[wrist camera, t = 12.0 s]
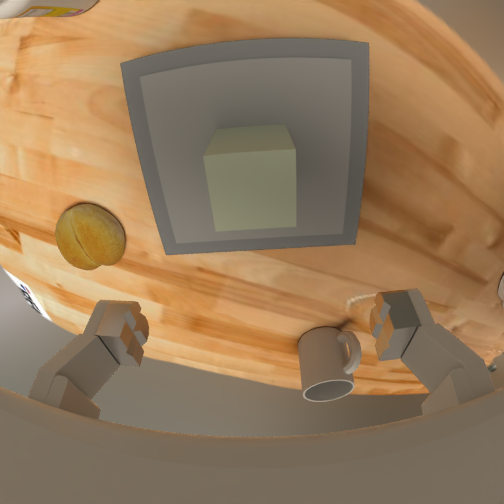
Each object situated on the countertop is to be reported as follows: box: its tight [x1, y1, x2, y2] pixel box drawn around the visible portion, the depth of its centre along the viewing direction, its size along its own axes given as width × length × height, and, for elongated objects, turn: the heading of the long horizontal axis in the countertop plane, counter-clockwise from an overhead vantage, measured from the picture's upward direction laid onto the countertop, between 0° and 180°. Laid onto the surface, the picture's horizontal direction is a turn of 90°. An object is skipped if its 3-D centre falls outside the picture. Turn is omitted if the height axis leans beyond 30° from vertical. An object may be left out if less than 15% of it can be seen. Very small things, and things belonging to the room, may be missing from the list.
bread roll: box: [55, 204, 125, 270], centre depth 29 cm, size 8×9×4 cm
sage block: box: [203, 124, 296, 232], centre depth 19 cm, size 5×5×6 cm
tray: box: [120, 38, 369, 255], centre depth 23 cm, size 18×18×4 cm
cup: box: [298, 327, 362, 402], centre depth 39 cm, size 7×10×9 cm
